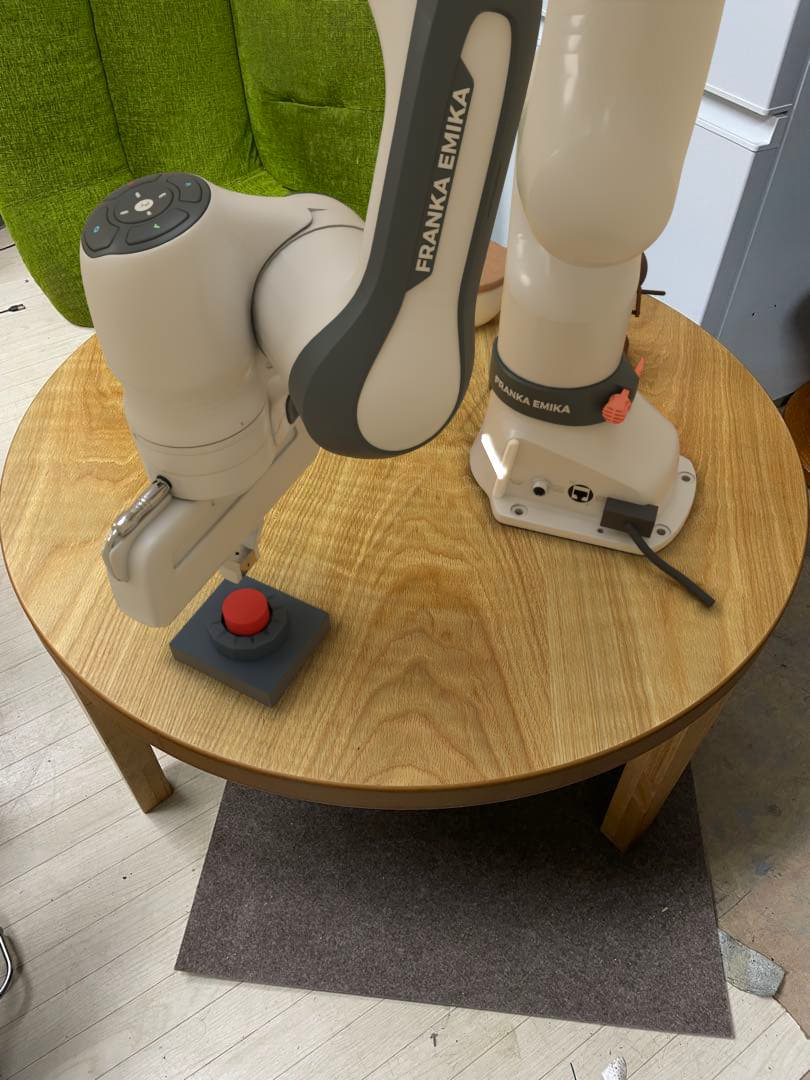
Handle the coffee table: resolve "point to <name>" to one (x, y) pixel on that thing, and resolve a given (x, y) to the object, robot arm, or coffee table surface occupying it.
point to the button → (246, 612)
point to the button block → (252, 642)
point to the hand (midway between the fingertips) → (241, 568)
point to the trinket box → (491, 284)
